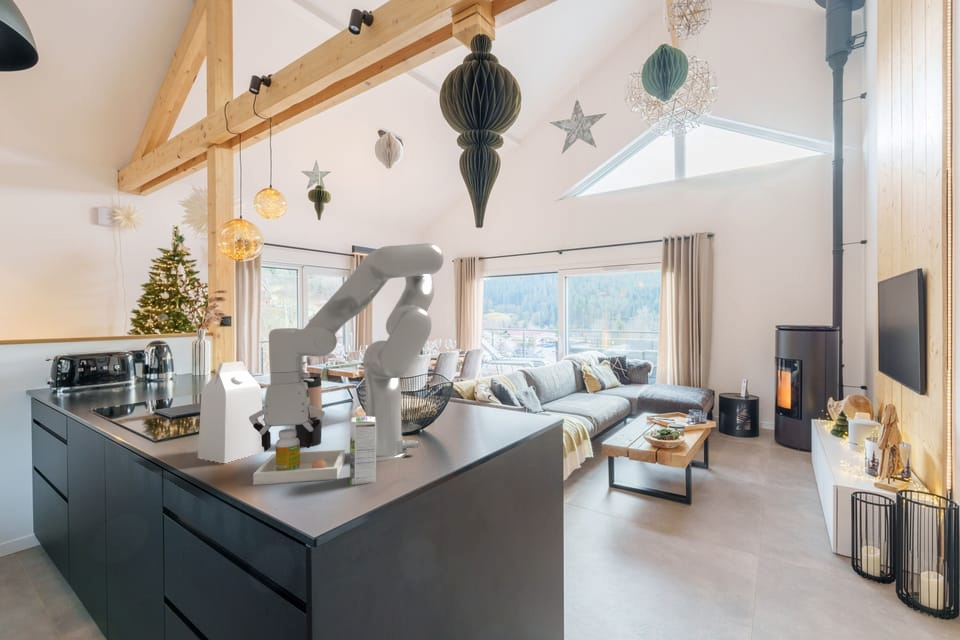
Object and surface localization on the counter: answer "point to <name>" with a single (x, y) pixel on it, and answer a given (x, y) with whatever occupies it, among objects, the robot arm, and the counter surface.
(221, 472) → the counter surface
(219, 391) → the milk
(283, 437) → the supplement bottle
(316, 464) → the ball
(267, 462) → the tray
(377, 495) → the counter surface
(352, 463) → the syrup box
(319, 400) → the travel mug
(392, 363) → the robot arm
